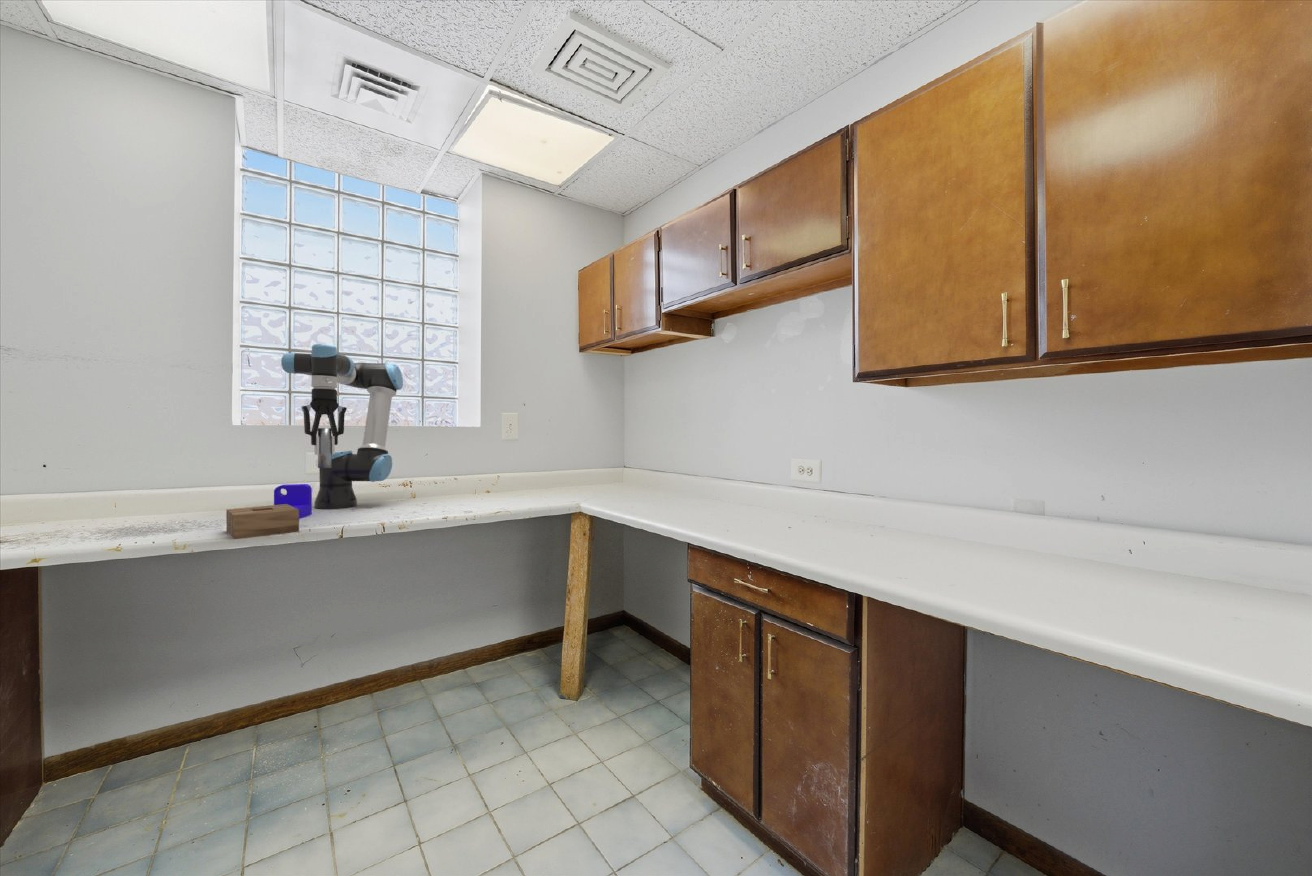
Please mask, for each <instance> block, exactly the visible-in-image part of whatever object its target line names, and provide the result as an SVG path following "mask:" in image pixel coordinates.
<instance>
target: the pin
mask: <svg viewBox="0 0 1312 876" xmlns="http://www.w3.org/2000/svg"><path fill="white" fill-rule="evenodd" d="M317 436H319V455H317V468H318V469H319V468H331V436H332V431H331V427H318V431H317Z"/></svg>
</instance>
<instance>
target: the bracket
mask: <svg viewBox="0 0 1312 876" xmlns="http://www.w3.org/2000/svg"><path fill="white" fill-rule="evenodd" d="M282 490H285V491H286V494H284V493H282ZM312 491H313V488H312V486H311V485H310V484H308V483H294V484H291V483H289V484H281V485H279V486H277V487H275V488H274V489H273V505H282V504H288V505H290V506H292V507H294V508H297V509H299V520H301V519H303V518H306V517H309V516H311V515H312V513H313V512H312V511H313V509H312V508H313V495H312V494H313V492H312Z"/></svg>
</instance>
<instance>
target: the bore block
mask: <svg viewBox="0 0 1312 876" xmlns="http://www.w3.org/2000/svg"><path fill="white" fill-rule="evenodd" d="M225 517H226V522H225V523H226V532H227V533H228V534H229V535H230V536H231V537H232V538H233V539H234V540H235V539H236V540H237V539H243V538H253V537H261V536H269V535H278V534H285V533H293V532H294V533H295V532H299V530H300V528H299V527H300V519H299V509H297V508H294V507H292V506H290V505H288V504H282V505H274V504H271V505H261V506H260V505H259V506H251V507H249V506H248V507H247V506H246V507H237V508H226V515H225Z"/></svg>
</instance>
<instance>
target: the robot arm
mask: <svg viewBox="0 0 1312 876" xmlns="http://www.w3.org/2000/svg"><path fill="white" fill-rule="evenodd" d="M280 361H281V368H282V370H283V371H284V372H285V373H287V374H295V375H296V374H299V375H306V376H311V388H312V389H311V401H310V402H309V404H307V405H302V406H301V407H300V408H301V411H302V412H303V425H304V427H303V429H304V434H305V435H309V436H310V439H311V440H310V444H311V446H314V455H316V456H318V455H319V436H318V428H320V427H319V426H320V421H321V418H322V416H323V415H325V416H327V418H328V422H329V426H330V427H329V428H331V468H318V469H319V472H318V473H319V474H318V475H319V476H318V477H319V489H318V492H317V495H316V497H315V500H314V508H315V509H322V510H323V509H324V510H325V509H328V510H329V509H343V508H350V507H351V508H352V507H355V506H357V505H358V502H357V501H358V500H357V497H356V493H355V491H354V489H353V482H372V483H374V482H382V481H385V480H386V479H387V478H388V477H389V476H390V474H391V472H392V469H393V458H392V456H391V455H390V454H389V451H388V449H387V448H386V443H387V436H388V435H387V434H388V428H389V421H390V414H391V408H392V407H391V406H392V399H393V397H395V396H396V395H397V391H400V390H402V389H403V386H404V380H403V379H404V378H403V374H402V372H401V369H400V367H399V366H398V365H397V364H396V363H395V364H394V363H388V362H387V363H381V362H380V363H378V362H377V363H374V362H354V360H353V359H352V358H350V357H349V356H347V355H345V354H341V353H340V354H339V353H338V348H337V346H335V345H333V344H327V343H326V344H325V343H315V344H312V346H311V353H303V352H302V353H301V352H288V353H287V352H286V353H284V354H283V355H282V357H281V360H280ZM338 384H340V385H344V386H348V387H351V388H357V389H363V390H364V389H365V390H366V392H367V393H368V394H369V398H368V399H369V401H368V405H367V406H368V407H367V412H366V413H367V414H366V418H365V419H366V421H365V425H364V432H363V439H362V444H361V446H359V447H357V452H356V453H353V451H352V450H344V451H335V449H336V448H335V446H337V445H338V444H339V442H338V441H339V436H341V435H343V434H344V432H345V415H346V412H347V407H345V406H342V405H340V404H339V403H338V390H337V389H336V388H338ZM311 408H312V409H311ZM311 410H313V411H314V412H315V413H314V420H313V424H312V427H311V415H310V411H311ZM335 411H338V424H336V420H335V419H336V418H335ZM337 425H338V426H337Z"/></svg>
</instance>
